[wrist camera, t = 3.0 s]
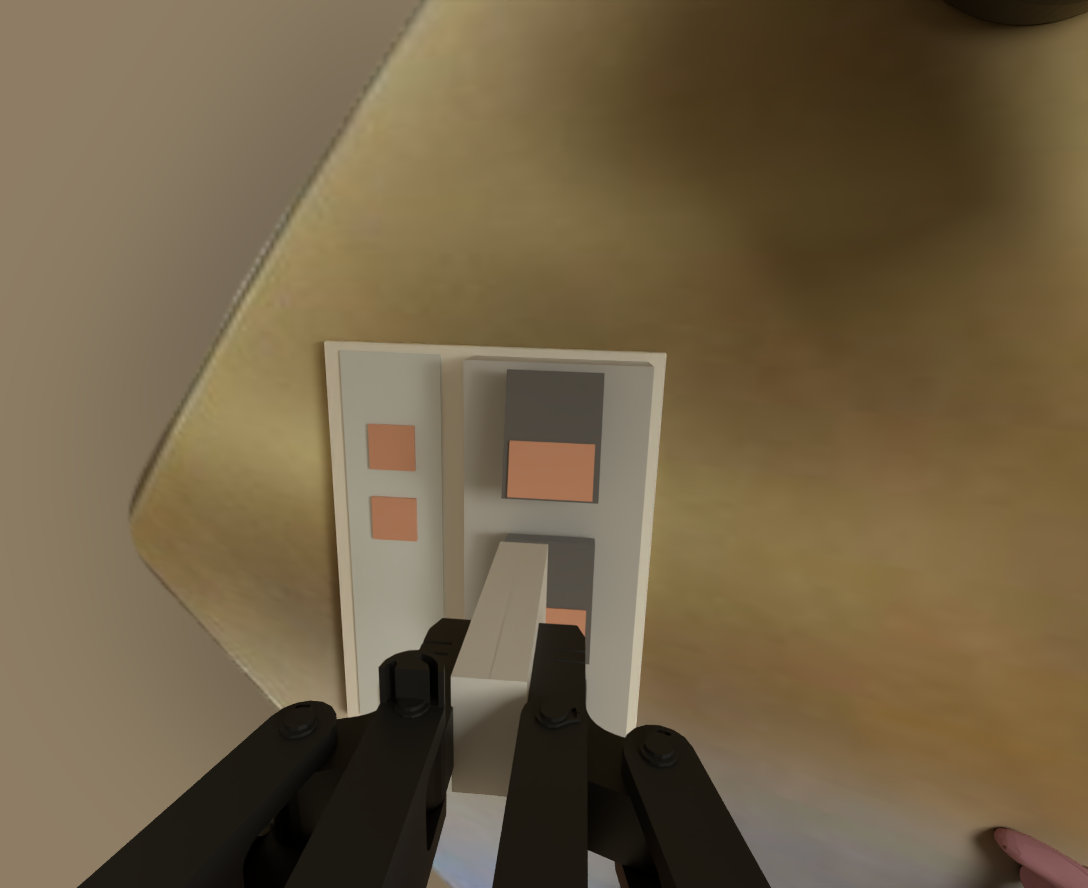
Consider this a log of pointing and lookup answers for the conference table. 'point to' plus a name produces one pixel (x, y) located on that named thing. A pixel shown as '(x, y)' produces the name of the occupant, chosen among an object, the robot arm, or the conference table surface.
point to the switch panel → (479, 501)
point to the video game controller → (1041, 862)
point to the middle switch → (567, 580)
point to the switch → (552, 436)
